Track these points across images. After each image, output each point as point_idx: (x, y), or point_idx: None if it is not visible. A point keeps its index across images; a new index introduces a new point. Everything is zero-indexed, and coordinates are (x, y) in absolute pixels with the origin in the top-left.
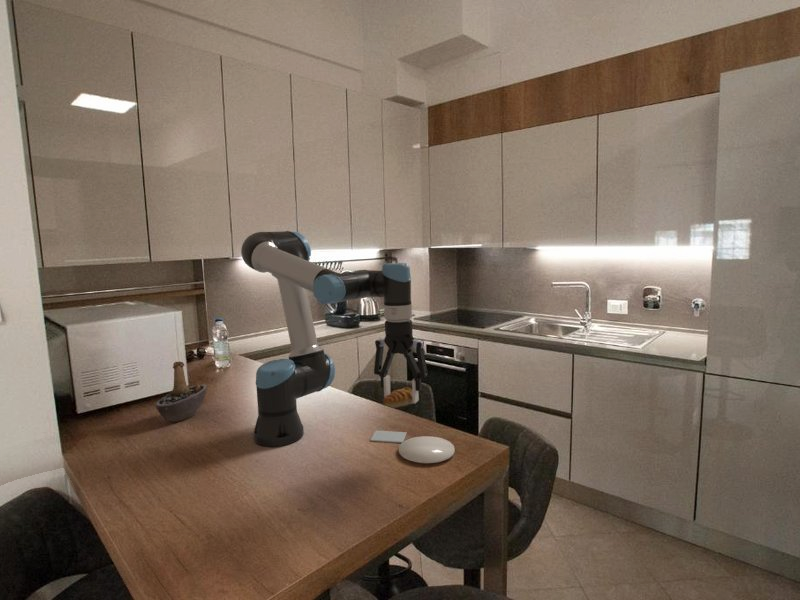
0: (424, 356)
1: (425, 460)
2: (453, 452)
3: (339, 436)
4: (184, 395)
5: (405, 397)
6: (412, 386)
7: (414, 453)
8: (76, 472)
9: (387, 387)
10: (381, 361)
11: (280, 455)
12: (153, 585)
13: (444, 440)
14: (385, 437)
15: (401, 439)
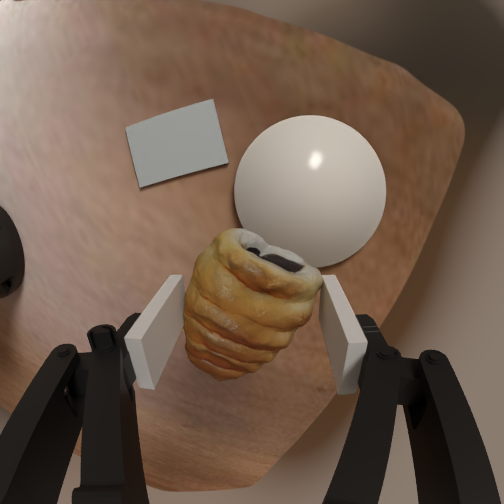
0: (487, 459)
1: (331, 260)
2: (385, 195)
3: (67, 196)
4: None
5: (288, 344)
6: (333, 367)
7: (292, 234)
8: None
9: (169, 337)
10: (55, 415)
11: (43, 313)
12: (162, 488)
13: (346, 131)
14: (169, 156)
15: (218, 150)
